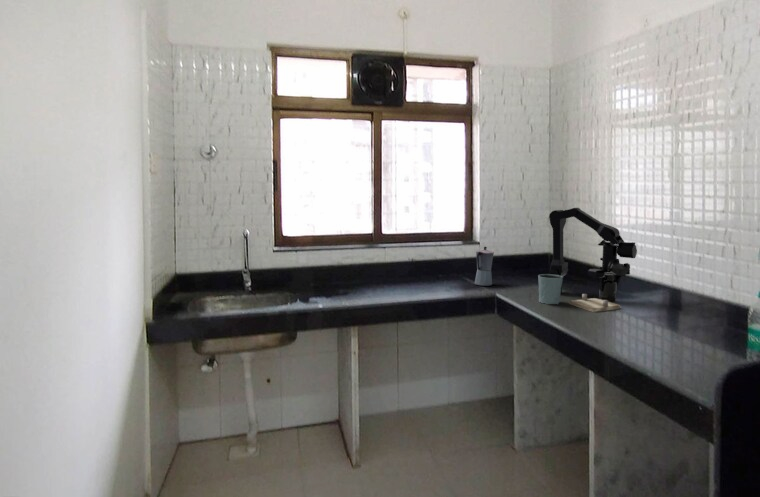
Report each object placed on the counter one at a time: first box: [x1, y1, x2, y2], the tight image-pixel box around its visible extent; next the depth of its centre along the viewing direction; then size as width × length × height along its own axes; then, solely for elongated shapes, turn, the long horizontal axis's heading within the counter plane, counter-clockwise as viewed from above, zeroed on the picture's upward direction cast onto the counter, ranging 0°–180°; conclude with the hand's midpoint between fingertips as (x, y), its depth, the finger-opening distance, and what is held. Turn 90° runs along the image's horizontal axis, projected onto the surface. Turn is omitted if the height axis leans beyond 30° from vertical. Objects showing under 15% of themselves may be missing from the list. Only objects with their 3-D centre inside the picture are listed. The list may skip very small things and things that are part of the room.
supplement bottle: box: [598, 274, 618, 303], centre depth 219 cm, size 7×7×12 cm
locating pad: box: [569, 293, 621, 313], centre depth 210 cm, size 14×14×4 cm
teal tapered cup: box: [537, 273, 564, 305], centre depth 217 cm, size 10×10×12 cm
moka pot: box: [474, 246, 494, 287], centre depth 256 cm, size 10×15×20 cm, turn 148°
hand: (607, 290), depth 219 cm, fingers closed on supplement bottle, 7 cm apart
